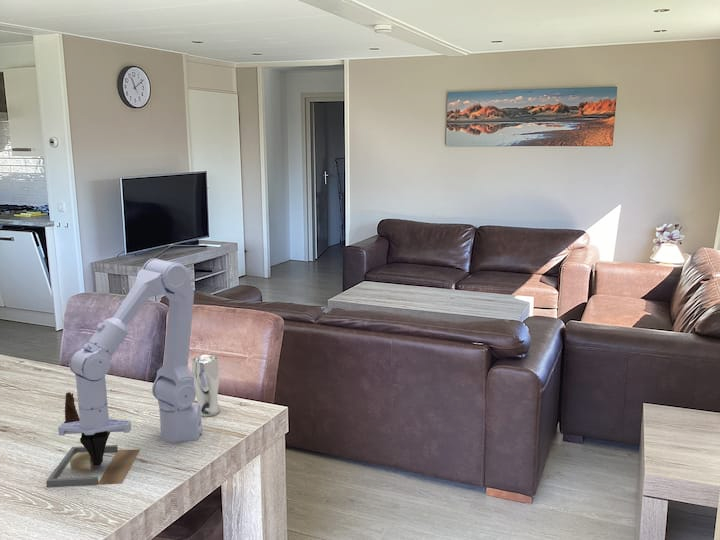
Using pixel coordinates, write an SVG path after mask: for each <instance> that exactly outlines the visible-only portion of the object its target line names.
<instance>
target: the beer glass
mask: <svg viewBox="0 0 720 540" xmlns="http://www.w3.org/2000/svg"><path fill="white" fill-rule="evenodd" d="M191 360H192V363H191V373H192V374H193V376H194V386H195V389H196V401H197V402H196V404H199V405H200V407H201V418H202V417H203V418H208V417H213V416H216V415H218V414H219V413H220V405H219V402H218V401H219V400H218V393H219V387H220V378H221V377H220V365H219V357H218V355H215V354H201V355H197V356H196V355H195V356H194V357H193V358H192V359H191Z"/></svg>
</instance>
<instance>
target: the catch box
mask: <svg viewBox="0 0 720 540" xmlns="http://www.w3.org/2000/svg"><path fill="white" fill-rule="evenodd" d="M118 450H119V446H118V444H109V445H108V444H106V445H105V449H104V453H107V454H108V453H117V451H118ZM79 452H88V451H87V449H86V448H85V447H84V446H83V445H82V446H72V447H71V448H70V449H69V451H68V452H67V453H66V454H65V455H64V457H63V458H62V459H61V461H59V464H58V465H57V466H56V467H55V469H54V470H53V472H51V474H50V475H49V477H48V478H47V480H46V482H45V483H46V487H47V488H56V487H74V486H75V487H77V486H78V487H79V486H98V485H97V484H98V482H99V477H98V476H89V477H88V476H87V477H85V476H84V477H66V478H65V477H63V478H60V477H59V476H60V475H61V474H62V472H63V471H64V470H65V468H67V466H68V465H69V463H70V460H71V459H72V458H73V457H74V455H75V454H76V453H79Z"/></svg>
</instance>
